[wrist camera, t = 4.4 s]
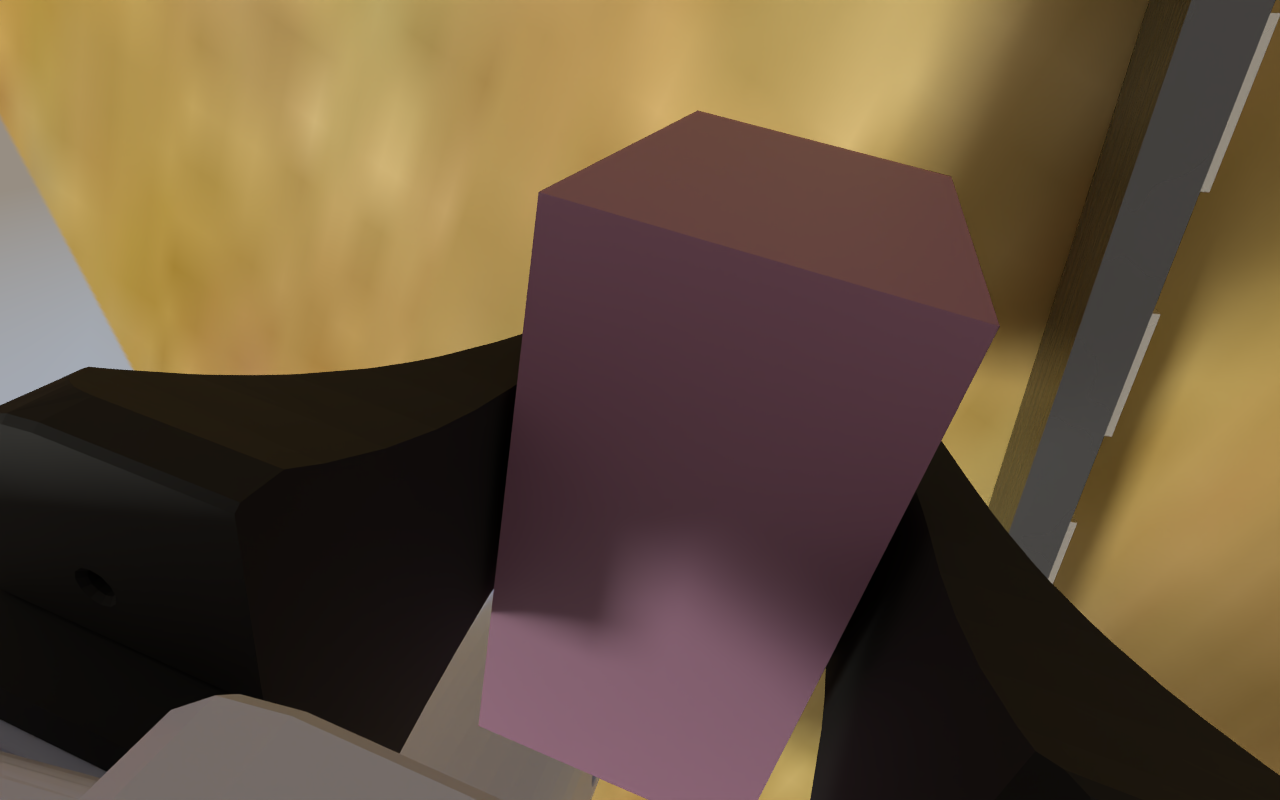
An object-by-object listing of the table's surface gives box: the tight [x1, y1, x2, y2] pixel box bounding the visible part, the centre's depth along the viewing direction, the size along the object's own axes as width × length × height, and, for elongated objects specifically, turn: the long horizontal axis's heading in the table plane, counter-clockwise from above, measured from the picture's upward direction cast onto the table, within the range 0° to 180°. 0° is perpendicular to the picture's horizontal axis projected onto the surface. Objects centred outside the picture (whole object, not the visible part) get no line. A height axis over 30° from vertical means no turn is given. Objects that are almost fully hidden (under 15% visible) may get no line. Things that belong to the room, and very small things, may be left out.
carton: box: [478, 111, 1000, 800], centre depth 11 cm, size 4×8×6 cm, turn 169°
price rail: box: [988, 0, 1280, 584], centre depth 16 cm, size 18×2×2 cm, turn 179°
